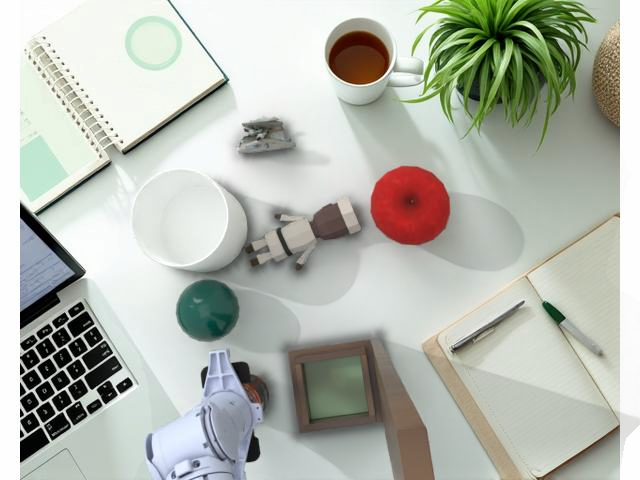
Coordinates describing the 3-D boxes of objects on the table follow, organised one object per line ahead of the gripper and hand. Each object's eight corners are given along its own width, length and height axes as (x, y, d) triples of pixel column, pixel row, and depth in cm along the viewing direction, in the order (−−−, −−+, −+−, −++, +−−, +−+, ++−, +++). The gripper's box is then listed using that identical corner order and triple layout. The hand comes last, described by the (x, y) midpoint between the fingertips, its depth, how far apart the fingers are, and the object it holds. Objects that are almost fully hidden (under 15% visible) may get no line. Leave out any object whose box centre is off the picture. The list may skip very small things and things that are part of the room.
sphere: (188, 342, 82) (169, 347, 74) (183, 282, 83) (165, 281, 75) (247, 337, 82) (235, 341, 74) (242, 277, 83) (230, 274, 75)
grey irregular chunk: (297, 150, 84) (292, 136, 77) (239, 157, 84) (229, 145, 77) (294, 119, 84) (288, 103, 77) (236, 127, 85) (225, 112, 78)
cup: (180, 174, 84) (151, 154, 72) (259, 202, 83) (243, 185, 71) (150, 255, 84) (115, 248, 72) (230, 284, 83) (208, 281, 71)
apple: (454, 234, 81) (468, 224, 71) (386, 261, 82) (390, 255, 71) (425, 165, 82) (435, 145, 72) (358, 192, 83) (358, 176, 72)
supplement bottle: (217, 384, 81) (195, 399, 70) (258, 364, 81) (242, 377, 70) (236, 426, 81) (217, 448, 69) (277, 407, 81) (264, 426, 69)
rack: (391, 420, 80) (472, 712, 23) (299, 432, 80) (162, 747, 24) (379, 337, 81) (426, 427, 24) (288, 350, 81) (131, 467, 25)
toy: (263, 285, 83) (367, 243, 82) (256, 285, 78) (365, 240, 77) (241, 229, 84) (343, 187, 83) (233, 226, 79) (341, 180, 78)
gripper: (265, 495, 61) (281, 459, 75) (246, 349, 63) (265, 339, 76) (195, 504, 62) (224, 466, 75) (178, 358, 63) (209, 347, 77)
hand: (241, 403), depth 76 cm, fingers closed on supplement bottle, 6 cm apart
